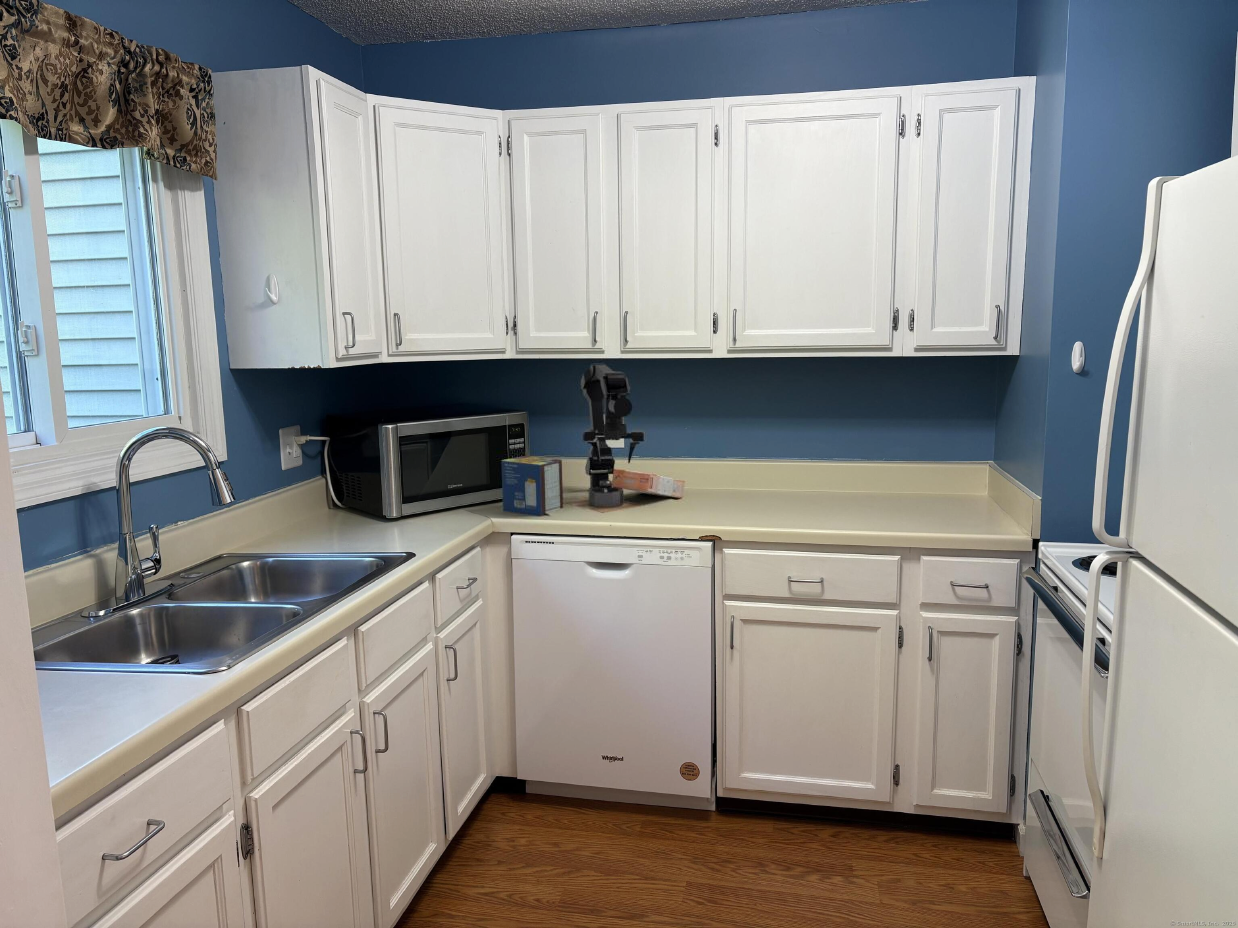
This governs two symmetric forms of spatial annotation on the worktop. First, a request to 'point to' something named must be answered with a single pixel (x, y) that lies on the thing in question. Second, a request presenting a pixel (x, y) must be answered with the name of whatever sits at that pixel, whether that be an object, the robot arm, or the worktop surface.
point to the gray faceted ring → (605, 497)
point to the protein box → (532, 485)
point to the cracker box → (647, 483)
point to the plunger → (605, 484)
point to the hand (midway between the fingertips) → (614, 463)
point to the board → (585, 504)
